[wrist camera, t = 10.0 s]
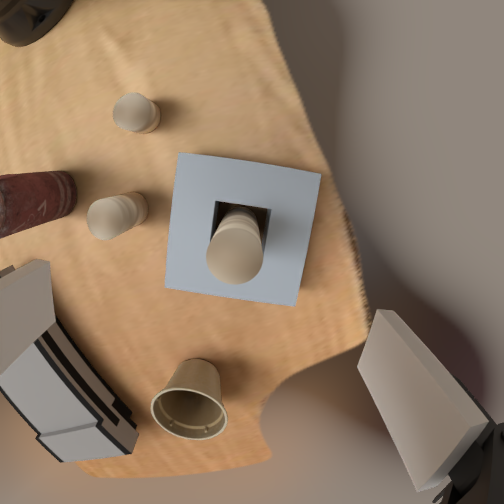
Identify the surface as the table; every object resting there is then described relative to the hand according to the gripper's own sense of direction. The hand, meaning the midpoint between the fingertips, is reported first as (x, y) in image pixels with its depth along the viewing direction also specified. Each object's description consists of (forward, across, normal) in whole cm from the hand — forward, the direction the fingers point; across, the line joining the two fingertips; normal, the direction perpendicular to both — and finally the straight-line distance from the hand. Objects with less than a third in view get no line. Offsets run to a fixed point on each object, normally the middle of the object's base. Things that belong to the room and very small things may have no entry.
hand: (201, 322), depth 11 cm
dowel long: (+25, +1, -1) cm, 25 cm away
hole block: (+25, +1, -1) cm, 25 cm away
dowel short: (+25, -12, +10) cm, 29 cm away
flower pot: (+25, -2, -23) cm, 34 cm away
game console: (+25, -29, -29) cm, 48 cm away
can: (+25, -23, 0) cm, 34 cm away
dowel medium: (+25, -12, -1) cm, 28 cm away
